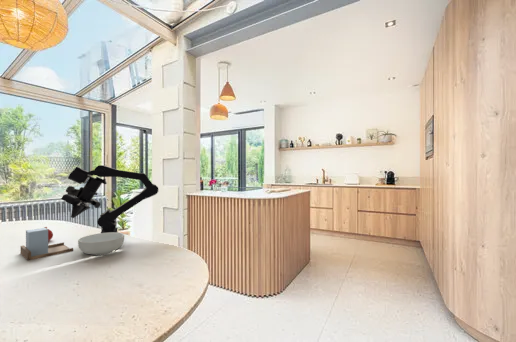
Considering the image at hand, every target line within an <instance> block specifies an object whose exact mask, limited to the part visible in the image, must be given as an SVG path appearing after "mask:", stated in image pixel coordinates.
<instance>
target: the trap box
mask: <svg viewBox="0 0 516 342" xmlns="http://www.w3.org/2000/svg"><path fill="white" fill-rule="evenodd" d="M73 251H74V247H71V248H70V247H68V246H66V244H65V242H59V243H58V242H57V243H54V244H48V253H46V254H42V255H37V256H32V257H31V251H30V250H28V249H27V248H26V245H23V244H22V245H20V254H21V255H22V257H24V259H26V260H27V261H31V260H37V259H40V258H46V257H49V256H50V257H51V256H55V255H59V254H64V253H68V252H69V253H70V252H73Z"/></svg>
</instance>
